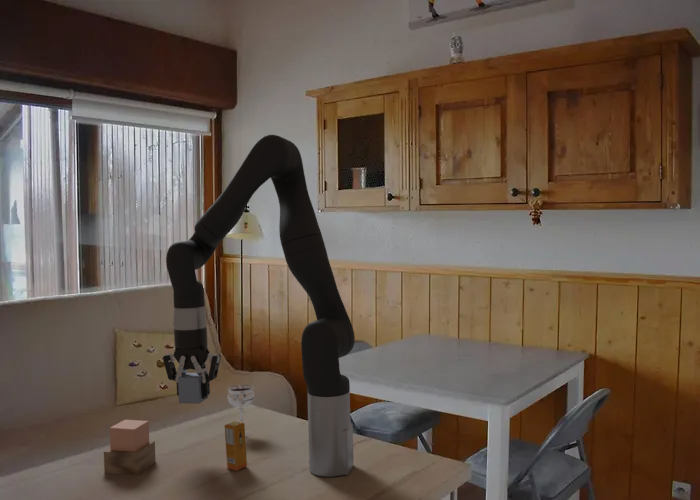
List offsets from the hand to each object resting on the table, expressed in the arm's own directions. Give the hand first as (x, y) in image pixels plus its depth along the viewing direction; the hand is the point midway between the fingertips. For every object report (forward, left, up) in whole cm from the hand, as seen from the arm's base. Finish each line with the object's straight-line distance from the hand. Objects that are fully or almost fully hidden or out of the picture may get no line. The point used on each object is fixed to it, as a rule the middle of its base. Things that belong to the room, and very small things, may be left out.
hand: (193, 397), depth 155 cm
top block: (+11, +10, -9) cm, 17 cm away
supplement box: (-13, +7, -14) cm, 20 cm away
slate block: (0, 0, -1) cm, 1 cm away
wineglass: (-6, -15, -14) cm, 21 cm away
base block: (+11, +10, -14) cm, 20 cm away
